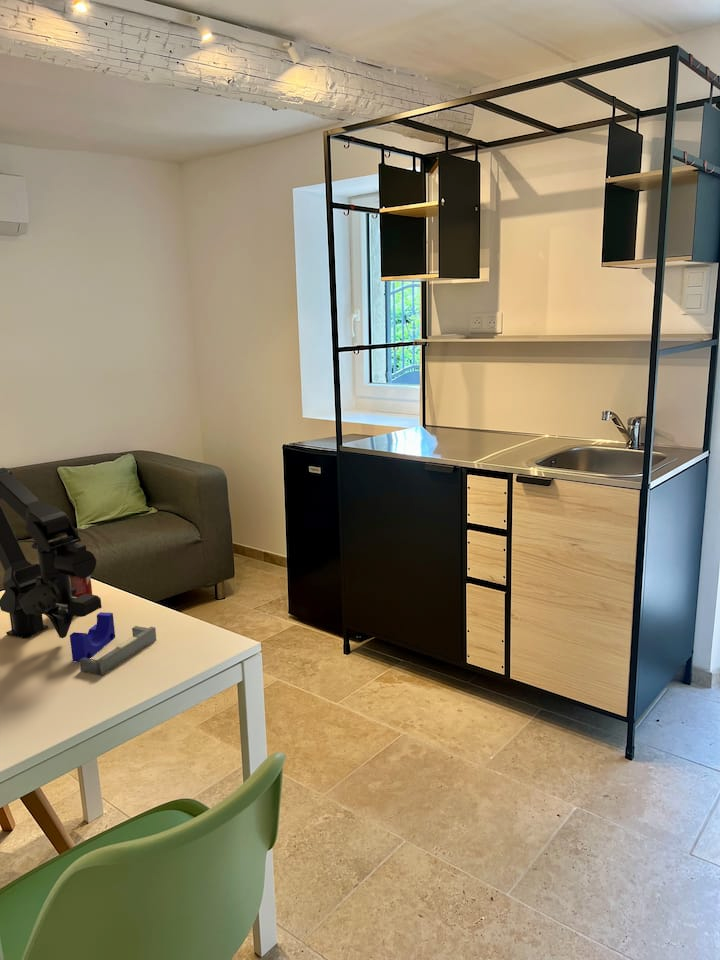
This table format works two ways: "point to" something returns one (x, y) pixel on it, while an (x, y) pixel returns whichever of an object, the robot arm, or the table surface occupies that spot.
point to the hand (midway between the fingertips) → (63, 637)
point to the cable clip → (93, 637)
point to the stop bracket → (120, 652)
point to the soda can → (81, 585)
